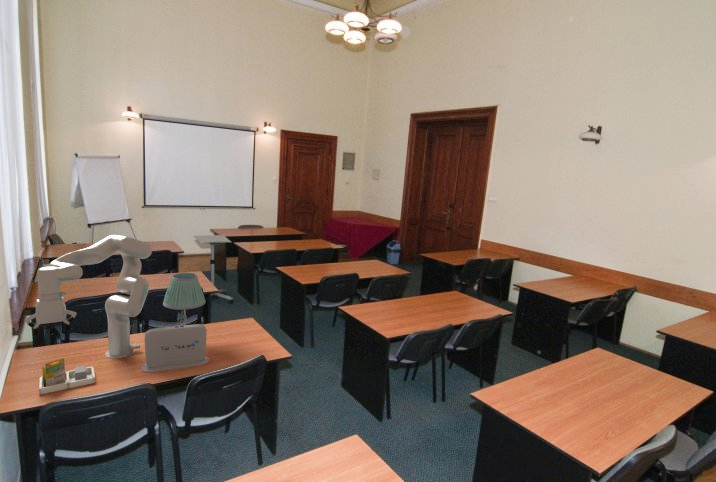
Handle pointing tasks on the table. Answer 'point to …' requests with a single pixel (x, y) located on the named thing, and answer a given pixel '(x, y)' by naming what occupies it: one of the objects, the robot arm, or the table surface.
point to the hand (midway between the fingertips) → (52, 334)
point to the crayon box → (54, 373)
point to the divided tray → (68, 381)
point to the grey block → (80, 373)
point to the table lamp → (184, 294)
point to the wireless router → (175, 347)
